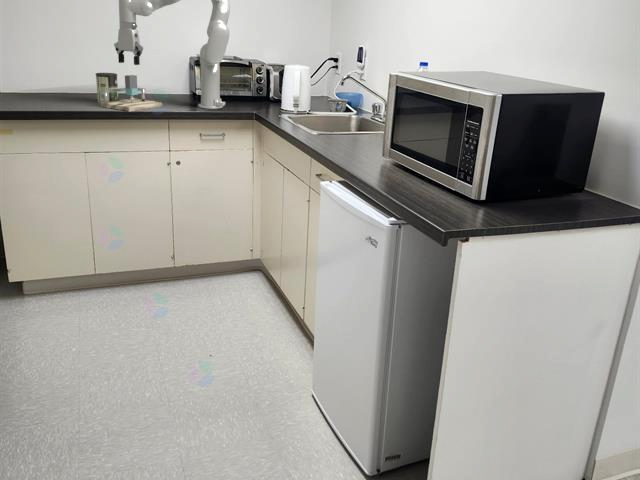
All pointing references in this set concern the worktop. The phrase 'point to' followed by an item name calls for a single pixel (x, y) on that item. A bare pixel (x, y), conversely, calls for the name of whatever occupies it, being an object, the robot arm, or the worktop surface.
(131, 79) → the block
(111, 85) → the coffee can
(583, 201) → the worktop surface
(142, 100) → the divider frame
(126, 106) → the hole plate
